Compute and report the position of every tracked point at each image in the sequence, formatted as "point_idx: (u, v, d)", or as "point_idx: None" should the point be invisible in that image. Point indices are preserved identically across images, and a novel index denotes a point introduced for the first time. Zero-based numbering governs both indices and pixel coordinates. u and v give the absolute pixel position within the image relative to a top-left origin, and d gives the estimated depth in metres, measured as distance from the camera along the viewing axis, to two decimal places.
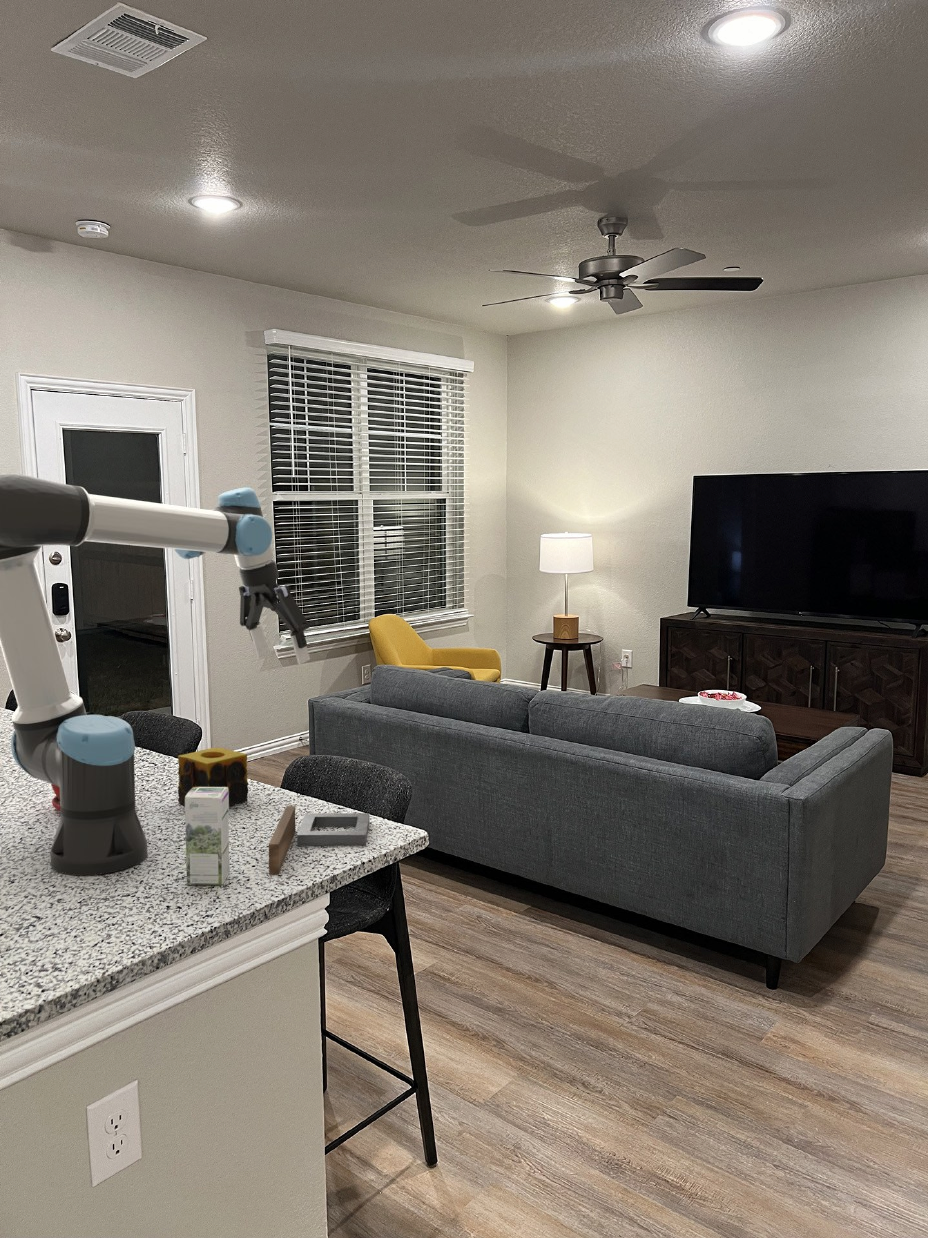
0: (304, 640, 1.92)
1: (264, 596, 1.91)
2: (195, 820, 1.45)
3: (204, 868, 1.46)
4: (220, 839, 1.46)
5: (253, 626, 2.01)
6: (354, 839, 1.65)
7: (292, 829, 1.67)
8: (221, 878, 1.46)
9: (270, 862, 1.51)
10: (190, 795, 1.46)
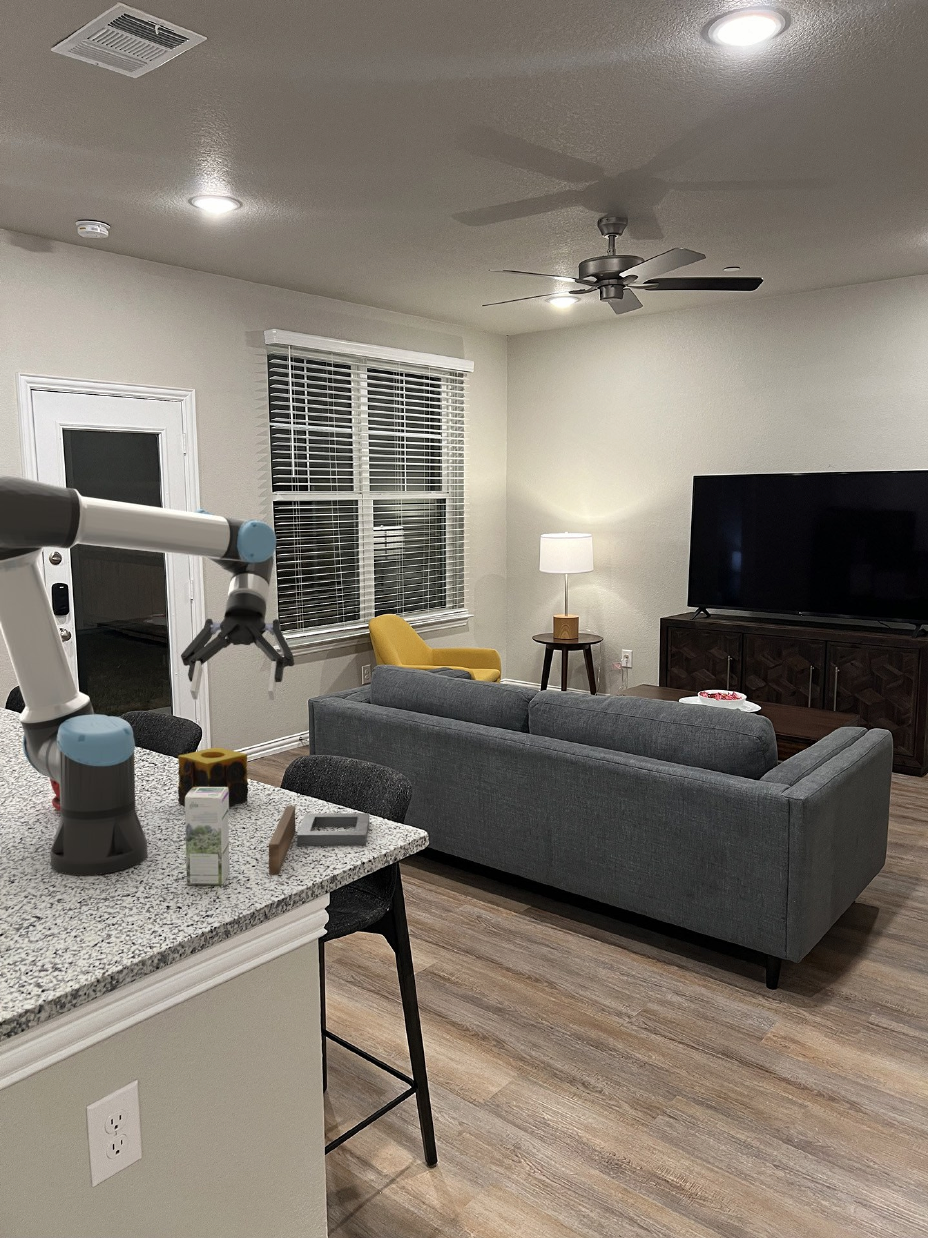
0: (282, 674, 1.71)
1: (252, 624, 1.75)
2: (195, 820, 1.45)
3: (204, 868, 1.46)
4: (220, 839, 1.46)
5: None
6: (354, 839, 1.65)
7: (292, 829, 1.67)
8: (221, 878, 1.46)
9: (270, 862, 1.51)
10: (190, 795, 1.45)
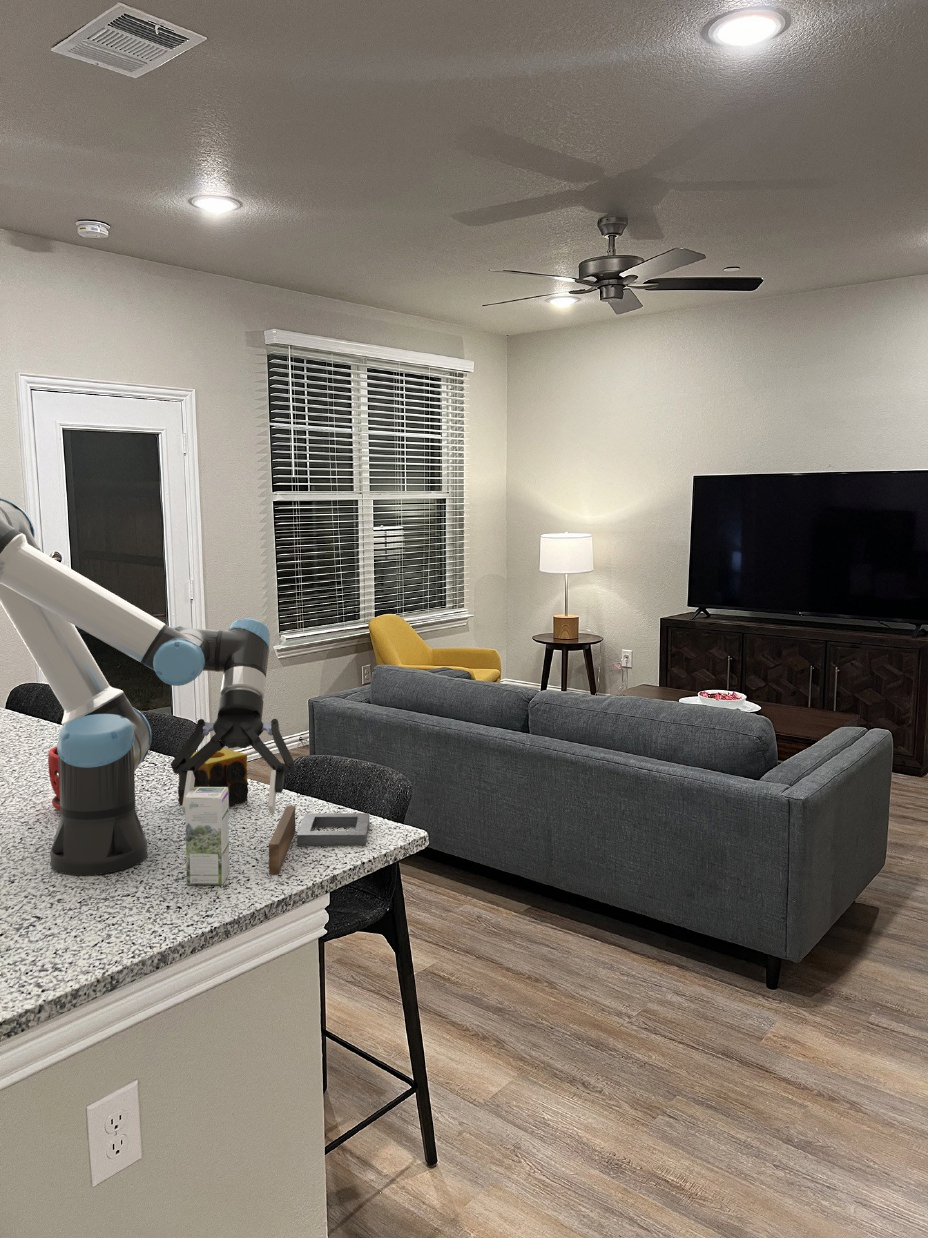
0: None
1: (248, 725, 1.60)
2: (195, 820, 1.45)
3: (204, 868, 1.46)
4: (220, 839, 1.46)
5: None
6: (354, 839, 1.65)
7: (292, 829, 1.67)
8: (221, 878, 1.46)
9: (270, 862, 1.51)
10: (190, 795, 1.46)
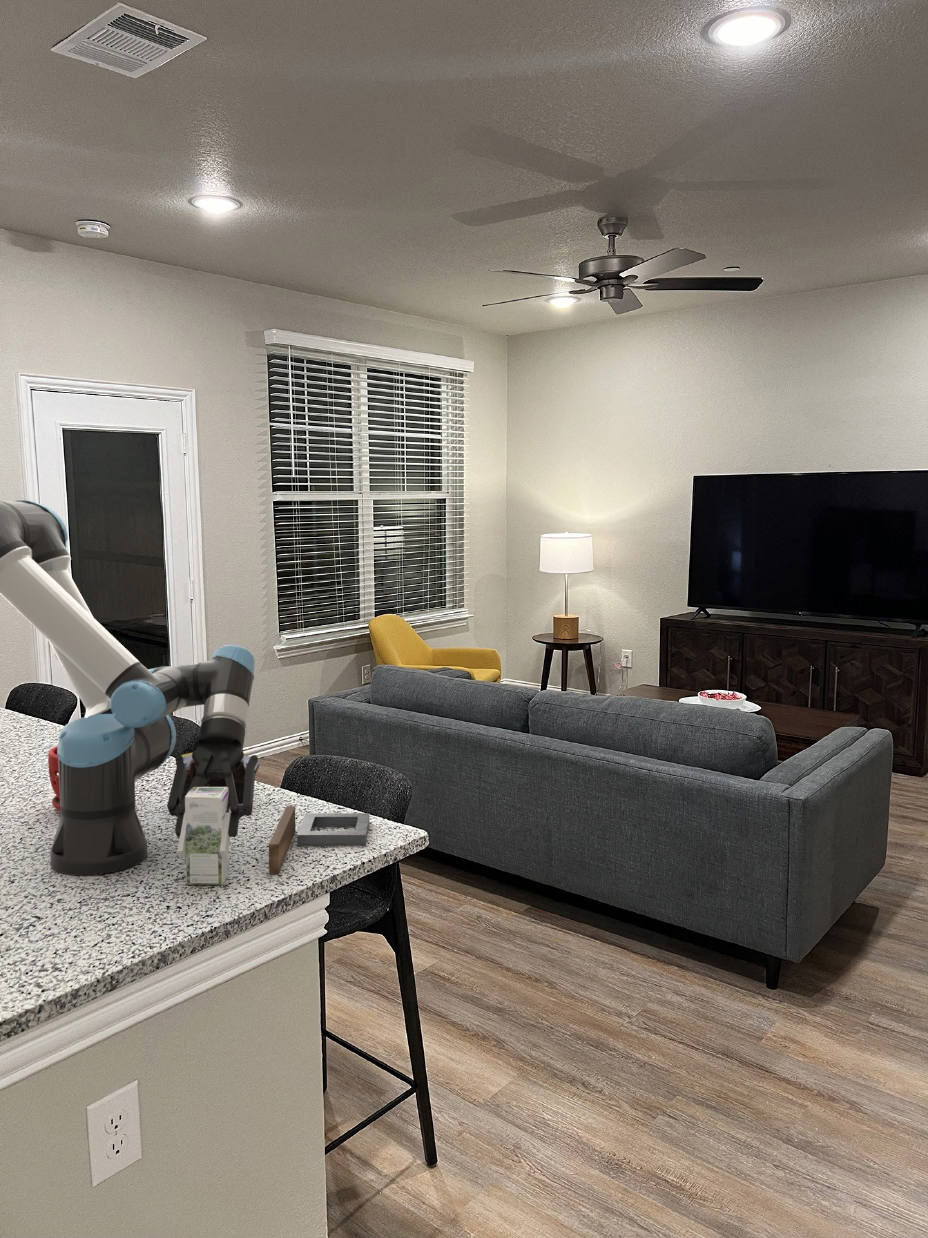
0: (237, 828, 1.48)
1: (228, 756, 1.54)
2: (195, 819, 1.45)
3: (204, 868, 1.46)
4: (220, 839, 1.46)
5: None
6: (354, 839, 1.65)
7: (292, 829, 1.67)
8: (221, 878, 1.46)
9: (270, 862, 1.51)
10: (190, 795, 1.46)
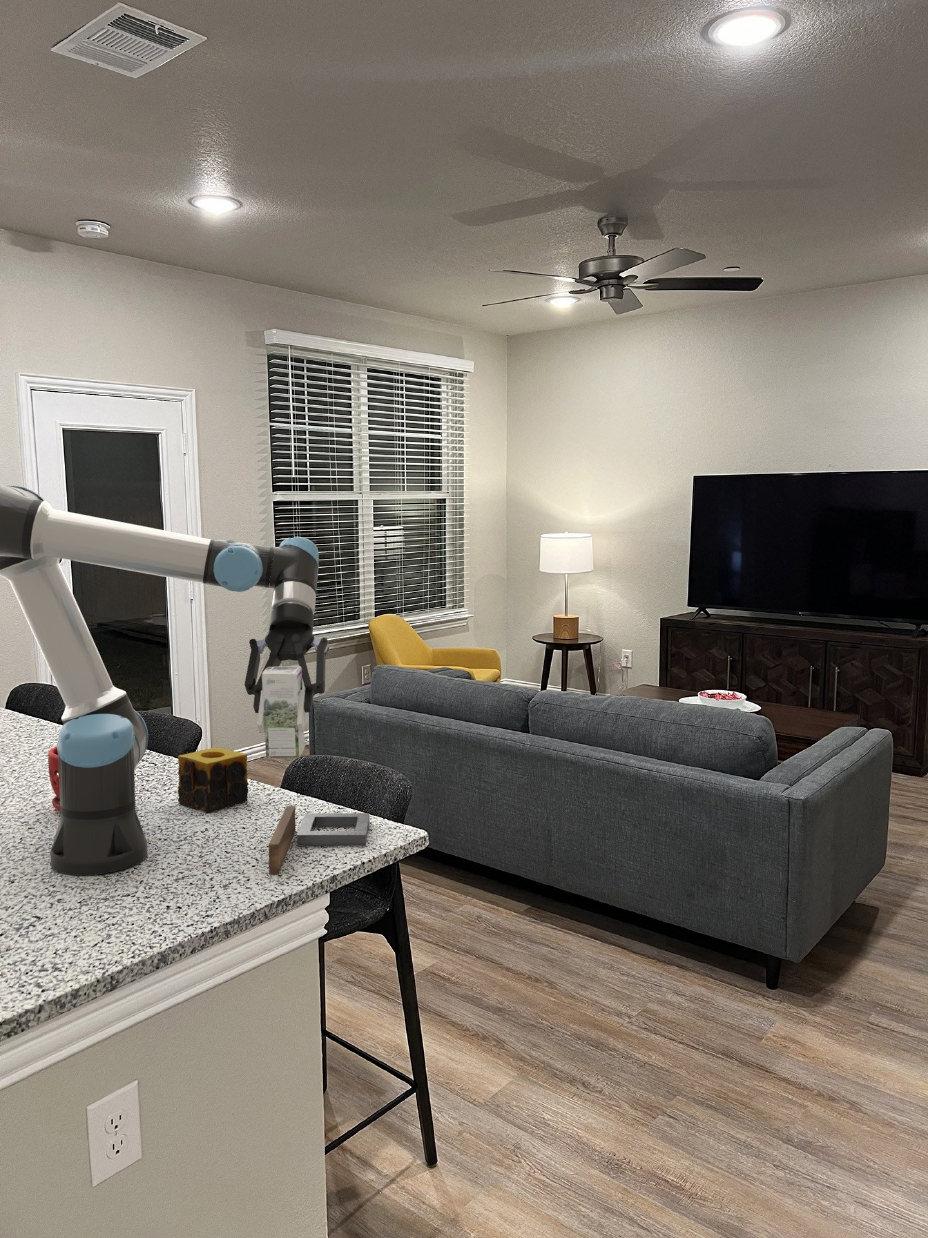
0: None
1: (299, 639, 1.60)
2: (272, 695, 1.52)
3: (282, 741, 1.53)
4: (296, 713, 1.53)
5: None
6: (354, 839, 1.65)
7: (292, 829, 1.67)
8: (298, 751, 1.54)
9: (270, 862, 1.51)
10: (266, 672, 1.52)
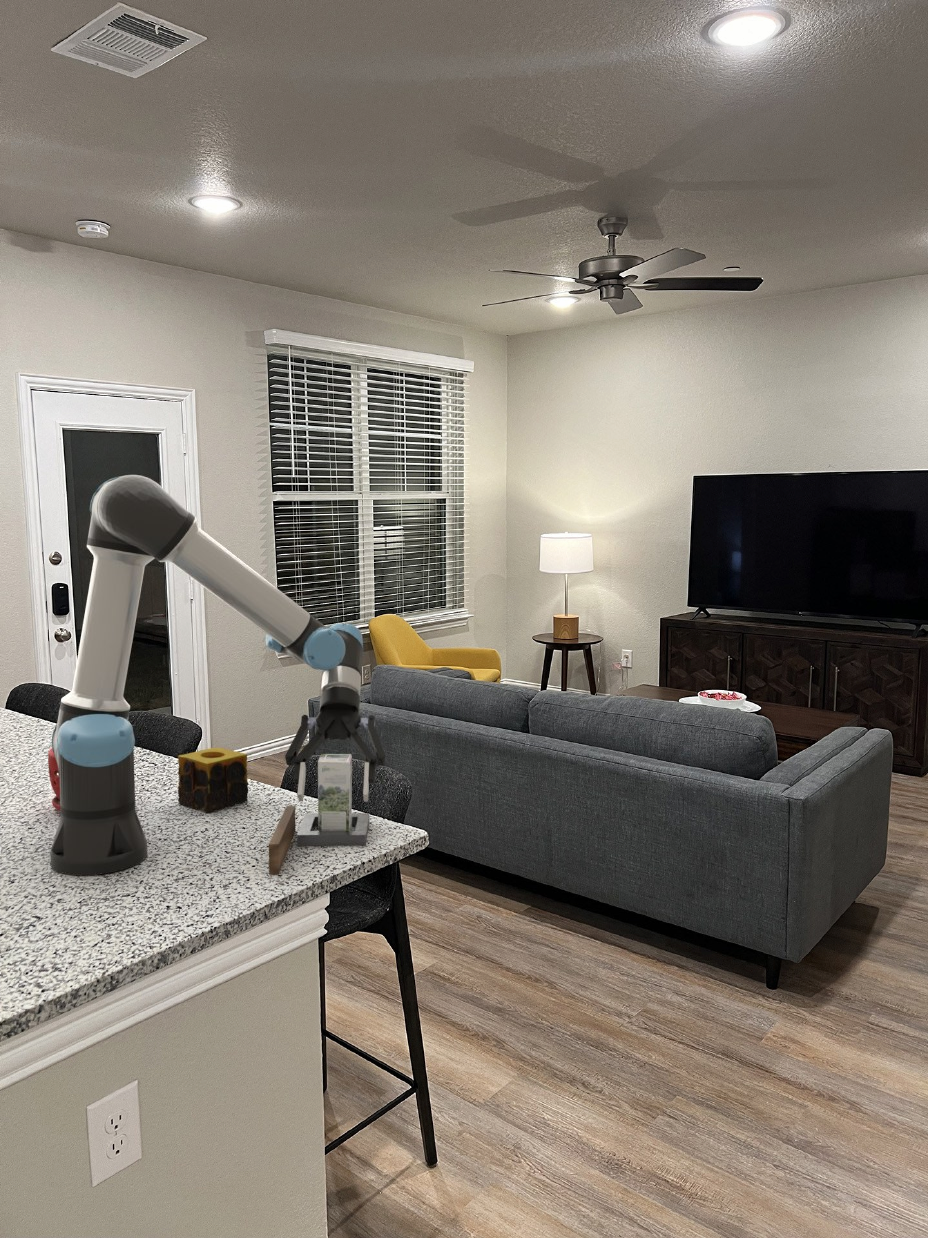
0: None
1: (348, 719, 1.76)
2: (326, 781, 1.67)
3: (334, 823, 1.68)
4: (348, 798, 1.67)
5: None
6: (354, 839, 1.65)
7: (292, 829, 1.67)
8: None
9: (270, 862, 1.51)
10: (322, 760, 1.67)
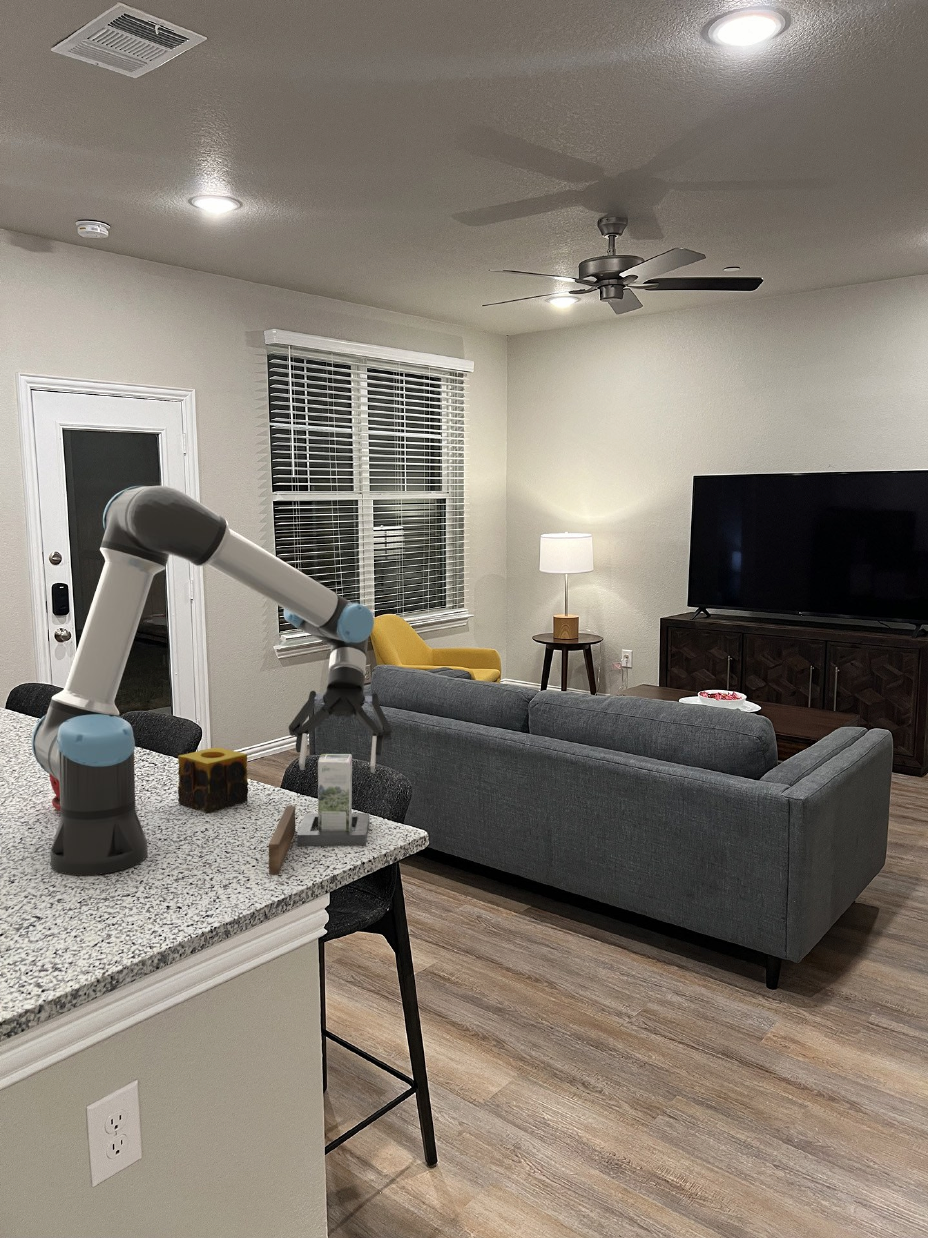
0: None
1: (353, 697, 1.88)
2: (326, 781, 1.67)
3: (334, 823, 1.68)
4: (348, 798, 1.67)
5: None
6: (354, 839, 1.65)
7: (292, 829, 1.67)
8: None
9: (270, 862, 1.51)
10: (322, 760, 1.67)
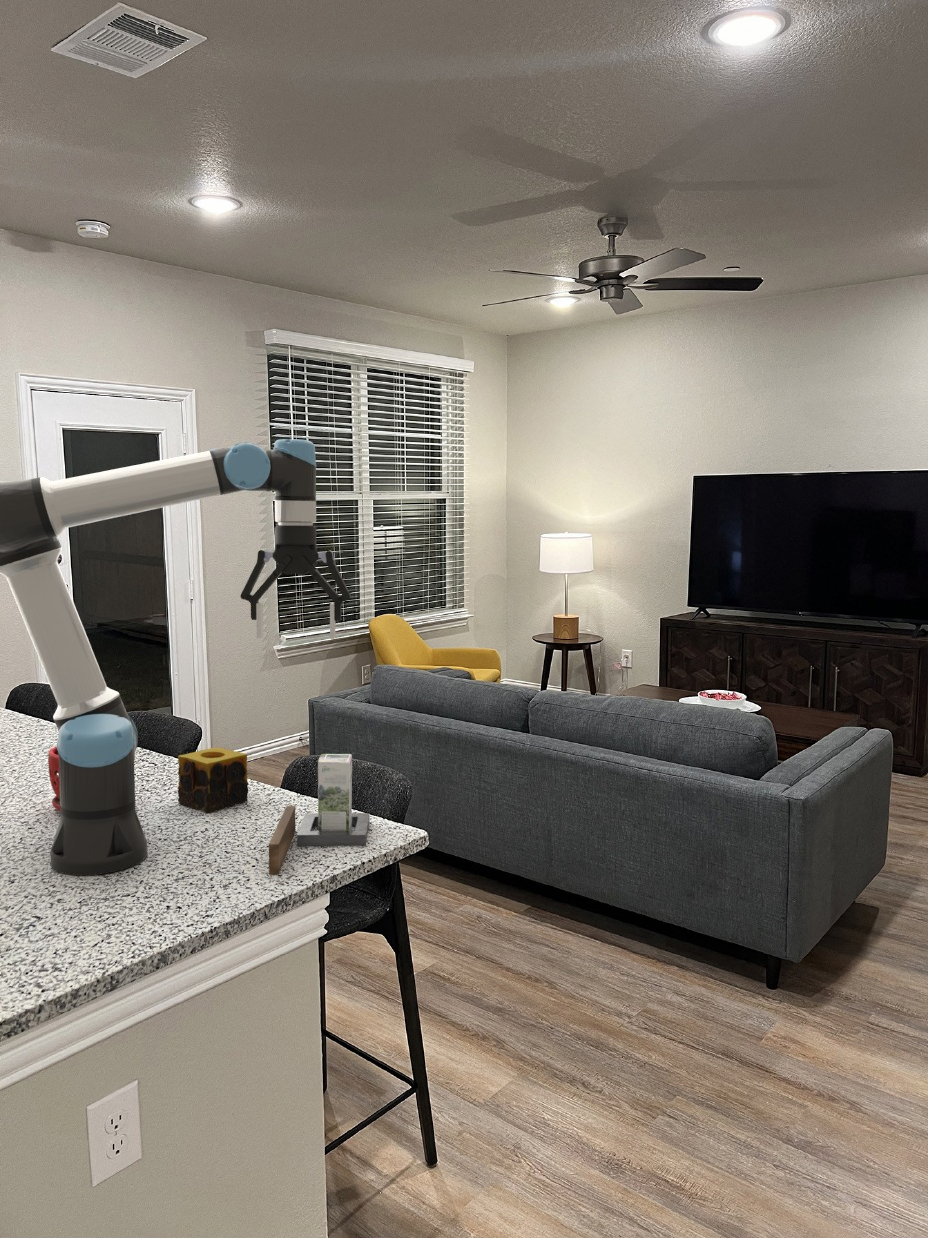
0: None
1: (305, 559, 1.73)
2: (326, 781, 1.67)
3: (334, 823, 1.68)
4: (348, 798, 1.67)
5: (257, 600, 1.75)
6: (354, 839, 1.65)
7: (292, 829, 1.67)
8: None
9: (270, 862, 1.51)
10: (322, 760, 1.67)
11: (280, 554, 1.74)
